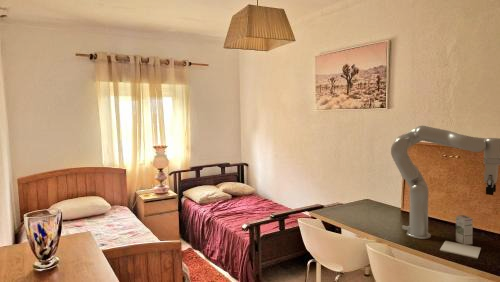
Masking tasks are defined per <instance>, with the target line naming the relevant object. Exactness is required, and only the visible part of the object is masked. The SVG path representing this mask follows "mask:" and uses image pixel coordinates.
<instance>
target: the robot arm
mask: <svg viewBox="0 0 500 282" xmlns="http://www.w3.org/2000/svg"><path fill="white" fill-rule="evenodd" d="M422 141H423V142H427V143H431V144H437V145H441V146H446V147H451V148H455V149H460V150H465V151H468V152H469V151H470V152H473V153H480V152H483V161H482V162H483V164H484V165H485V166H484V176H483V177H484V178H483V183H486V186H485V194H486V195H488V196H494V193H496V190H497V185H496V183H497V182H498V176H499V175H498V174H499V166H500V138H498V137H487V138H485V137H478V136H477V137H476V136H475V137H474V136H470V135H466V134H465V135H464V134H460V133H458V132H454V131H451V130H447V129H441V128H437V127H432V126H427V125H418V126H416V127H415V128H414V129H411V130H409V131H408V132H405V133H403V134H401V135H399V136H398V137H397V138H395V140H394V141H393V143H392V145H391V147H390V154H391V156H392V159H393V161H394V164H395V165H396V167H397V170H398V171H399V173H400V175H401V177H402V178H403V180H405V182H406V183H407V185H408V188H409V225H401V229H402V230H403V231H405V230H406V235H407V236H408V237H411V238H414V239H419V240H420V239H421V240H427V239H431V238H432V236H431V235H432V234H431V233H430V232H429V186H428V183H427V182H426V180H425V178H424V177H423V175H422V174H421V172H420V170H419V168H418V166H416V165H415V164H414V163H413V162H412V160H411V158H410V156H409V154H408V149H409V148H410V147H412V146H414V145H416V144H419V143H420V142H422Z"/></svg>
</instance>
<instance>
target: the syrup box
mask: <svg viewBox="0 0 500 282" xmlns="http://www.w3.org/2000/svg"><path fill="white" fill-rule="evenodd" d="M473 222H474V221H473V217H470V216H467V215H463V214H461V215H460V214H459V215H456V216H455V243H459V244H464V245H469V246H470V245H473V233H474V232H473V226H474V225H473Z"/></svg>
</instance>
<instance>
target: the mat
mask: <svg viewBox="0 0 500 282" xmlns="http://www.w3.org/2000/svg"><path fill="white" fill-rule="evenodd" d="M481 250H482V247H478V246H473V245H470V244H469V245H464V244H461V243H459V242H454V241H449V240H445V241H444V242H443V244H442V245H441V247H440V249H439V251H440V252H444V253H451V254H455V255H460V256H462V257H463V256H464V257H467V258H468V257H469V258H473V259H478V258H479V256H480V252H481Z"/></svg>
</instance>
